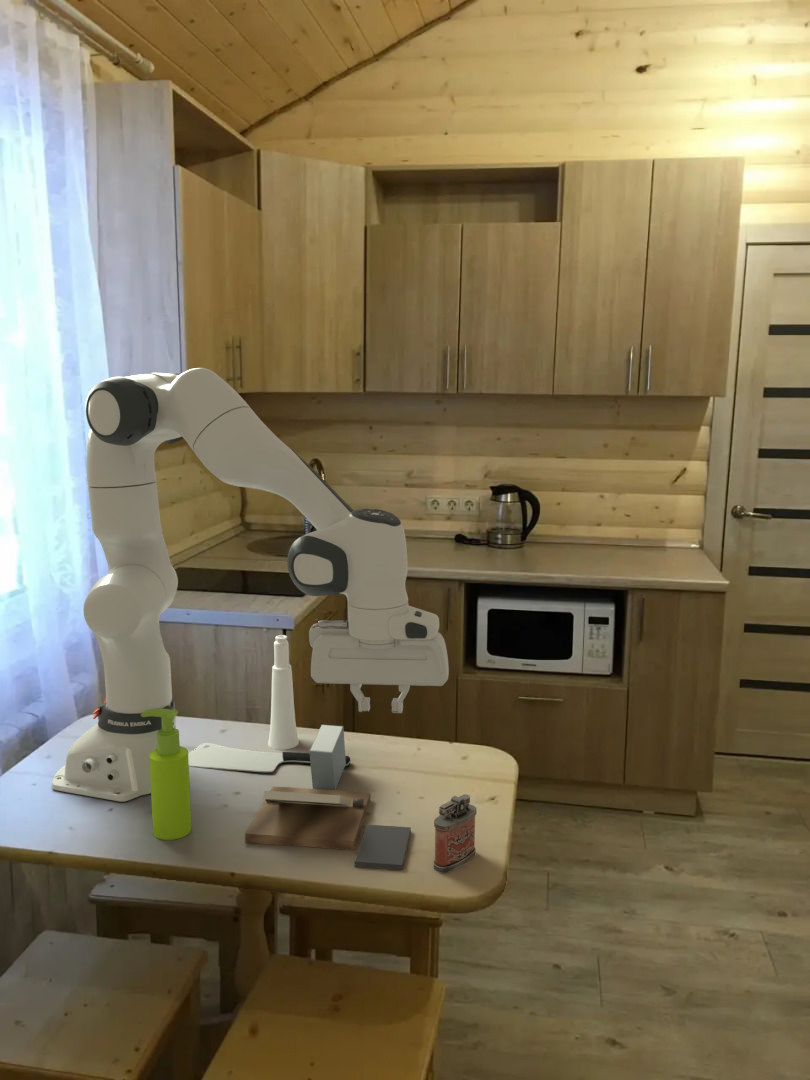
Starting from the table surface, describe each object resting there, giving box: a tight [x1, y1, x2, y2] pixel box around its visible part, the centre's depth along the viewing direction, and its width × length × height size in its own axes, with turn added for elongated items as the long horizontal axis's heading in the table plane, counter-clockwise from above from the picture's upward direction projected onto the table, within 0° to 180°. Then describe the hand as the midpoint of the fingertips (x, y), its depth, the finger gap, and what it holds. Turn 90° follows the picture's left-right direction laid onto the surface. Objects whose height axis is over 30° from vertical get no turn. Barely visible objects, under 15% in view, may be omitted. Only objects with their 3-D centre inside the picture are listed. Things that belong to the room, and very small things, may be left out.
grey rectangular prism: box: [308, 724, 346, 790], centre depth 157 cm, size 4×8×8 cm
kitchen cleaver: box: [188, 742, 351, 773], centre depth 165 cm, size 31×2×10 cm
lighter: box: [433, 793, 477, 874], centre depth 132 cm, size 8×3×10 cm, turn 136°
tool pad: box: [354, 823, 412, 871], centre depth 137 cm, size 7×11×1 cm, turn 173°
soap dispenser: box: [141, 708, 192, 841], centre depth 140 cm, size 6×7×20 cm
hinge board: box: [244, 786, 371, 851], centre depth 145 cm, size 17×16×3 cm
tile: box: [263, 790, 351, 806], centre depth 143 cm, size 12×10×1 cm
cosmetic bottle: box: [267, 634, 300, 751], centre depth 172 cm, size 6×6×22 cm
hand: (380, 711), depth 132 cm, fingers open, 4 cm apart
